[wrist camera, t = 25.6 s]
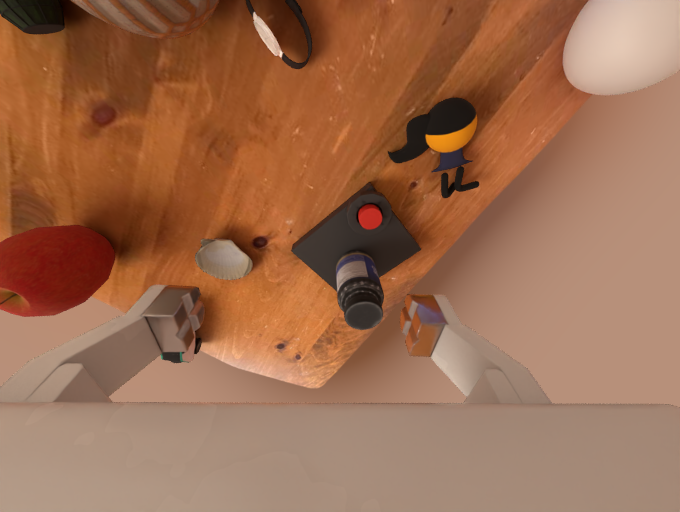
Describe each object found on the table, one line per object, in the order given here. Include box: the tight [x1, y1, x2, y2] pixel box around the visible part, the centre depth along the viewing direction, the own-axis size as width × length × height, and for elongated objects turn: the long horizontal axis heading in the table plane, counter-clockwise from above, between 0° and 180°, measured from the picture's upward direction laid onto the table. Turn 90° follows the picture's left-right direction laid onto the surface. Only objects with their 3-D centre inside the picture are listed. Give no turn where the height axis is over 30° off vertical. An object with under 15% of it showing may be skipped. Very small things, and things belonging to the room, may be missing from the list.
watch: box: [246, 0, 312, 69], centre depth 25 cm, size 8×5×4 cm, turn 37°
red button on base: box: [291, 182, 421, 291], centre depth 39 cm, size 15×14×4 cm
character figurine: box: [387, 98, 479, 198], centre depth 33 cm, size 10×6×12 cm
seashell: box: [195, 238, 253, 280], centre depth 39 cm, size 8×3×8 cm
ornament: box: [563, 0, 680, 95], centre depth 24 cm, size 10×10×12 cm
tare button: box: [358, 204, 382, 229], centre depth 34 cm, size 3×3×2 cm
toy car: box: [161, 331, 202, 363], centre depth 45 cm, size 6×12×5 cm, turn 165°
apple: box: [0, 225, 115, 317], centre depth 32 cm, size 10×10×14 cm
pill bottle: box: [336, 251, 384, 330], centre depth 35 cm, size 6×6×11 cm
